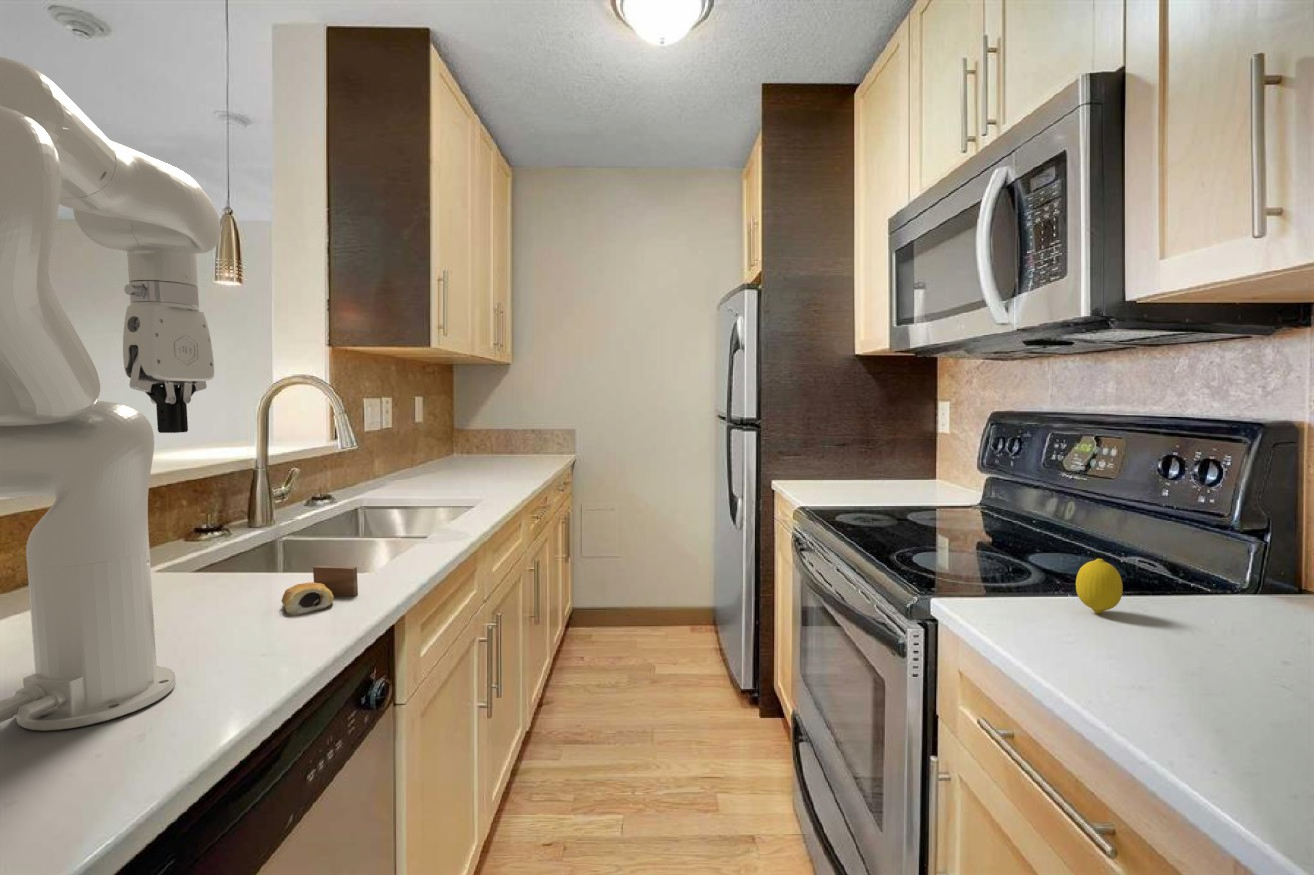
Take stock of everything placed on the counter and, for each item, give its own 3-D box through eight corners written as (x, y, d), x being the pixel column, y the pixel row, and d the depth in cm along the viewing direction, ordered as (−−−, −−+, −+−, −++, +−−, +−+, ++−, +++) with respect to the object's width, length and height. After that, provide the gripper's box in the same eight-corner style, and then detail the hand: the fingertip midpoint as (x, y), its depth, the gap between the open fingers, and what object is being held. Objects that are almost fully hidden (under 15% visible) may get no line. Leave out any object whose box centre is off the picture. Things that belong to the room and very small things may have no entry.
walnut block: (354, 596, 102) (353, 568, 102) (314, 594, 103) (313, 567, 103) (357, 594, 103) (356, 567, 103) (318, 592, 104) (317, 565, 104)
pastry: (276, 602, 100) (275, 578, 100) (324, 594, 105) (323, 571, 104) (287, 618, 93) (286, 592, 93) (337, 608, 97) (336, 584, 97)
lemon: (1114, 623, 88) (1116, 565, 87) (1068, 612, 92) (1070, 558, 92) (1126, 614, 91) (1129, 559, 91) (1082, 604, 96) (1084, 551, 95)
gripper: (137, 289, 80) (146, 436, 81) (233, 305, 95) (239, 429, 96) (85, 291, 81) (95, 436, 82) (188, 307, 96) (195, 429, 97)
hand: (173, 432), depth 89 cm, fingers closed
